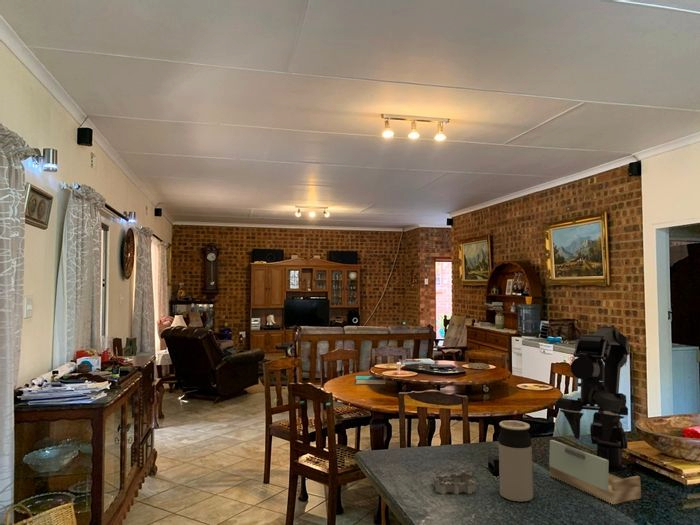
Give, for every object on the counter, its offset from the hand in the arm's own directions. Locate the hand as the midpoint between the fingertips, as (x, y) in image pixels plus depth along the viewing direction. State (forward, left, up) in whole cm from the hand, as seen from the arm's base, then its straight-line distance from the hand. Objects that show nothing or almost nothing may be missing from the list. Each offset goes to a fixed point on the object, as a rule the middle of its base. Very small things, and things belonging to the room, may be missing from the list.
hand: (591, 439), depth 131 cm
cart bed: (+1, 0, -12) cm, 12 cm away
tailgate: (+6, 0, -9) cm, 11 cm away
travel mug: (+24, -3, -12) cm, 27 cm away
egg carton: (+36, -13, -12) cm, 40 cm away
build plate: (+17, -19, -13) cm, 28 cm away
